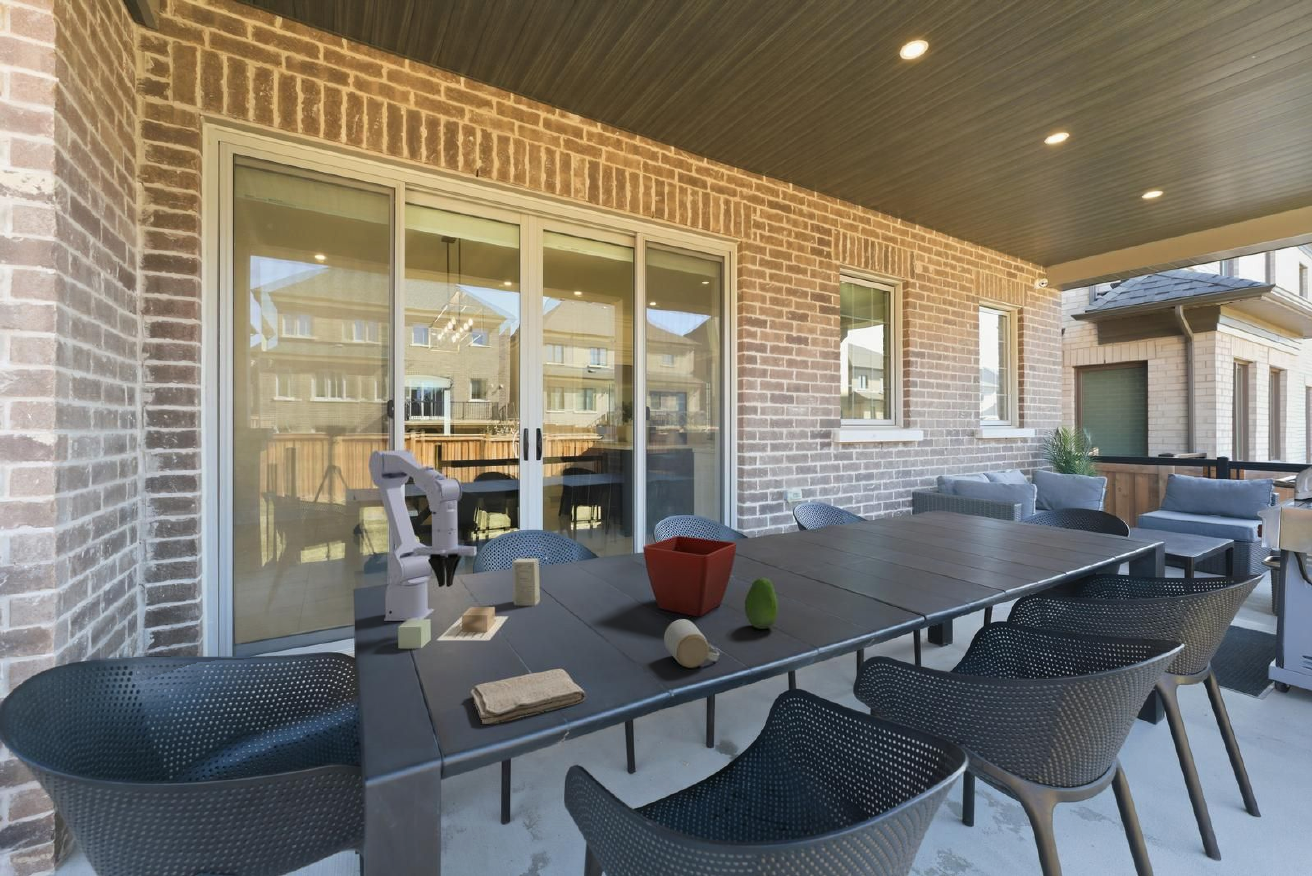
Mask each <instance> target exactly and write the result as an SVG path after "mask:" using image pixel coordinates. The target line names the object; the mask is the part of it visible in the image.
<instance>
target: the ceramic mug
mask: <svg viewBox="0 0 1312 876" xmlns="http://www.w3.org/2000/svg"><path fill="white" fill-rule="evenodd" d="M663 640H664V641H663V642H664V645H665V648H666V650H668V652H669V653H670V654H671V656H673V658H674V659H675V660H676V661H677V663H678V664H680V665H681V666H683V667H684V668H688V669H693V668H697V667H700V666H701V665H702V664H703V663H704V662H705V661H706V660H707V661H712V662H717V661H718V659H719V657H720V653H719V651H718V650H717V648H715V647H713V646H712V645H710V644H709V643H708V641H707V638H706V637H705V636H704V633H702V632H701V631H700V629H699V628H698V627H697V626H696V625H695V624H694V622H692V621H691V620H689V619H686V618H685V619H684V618H683V619H682V618H680V619H676V620H675V621H673V622H671V623H670V624H669V625H668V626H667V627H666V629H665V632H664V639H663Z"/></svg>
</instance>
